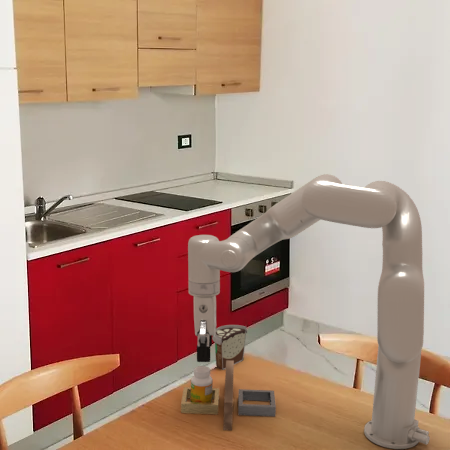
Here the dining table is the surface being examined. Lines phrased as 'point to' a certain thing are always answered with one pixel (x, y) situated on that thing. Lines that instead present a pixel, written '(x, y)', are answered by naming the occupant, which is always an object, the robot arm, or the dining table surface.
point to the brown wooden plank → (228, 395)
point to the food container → (229, 344)
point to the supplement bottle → (201, 385)
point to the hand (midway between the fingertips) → (204, 353)
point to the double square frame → (242, 408)
